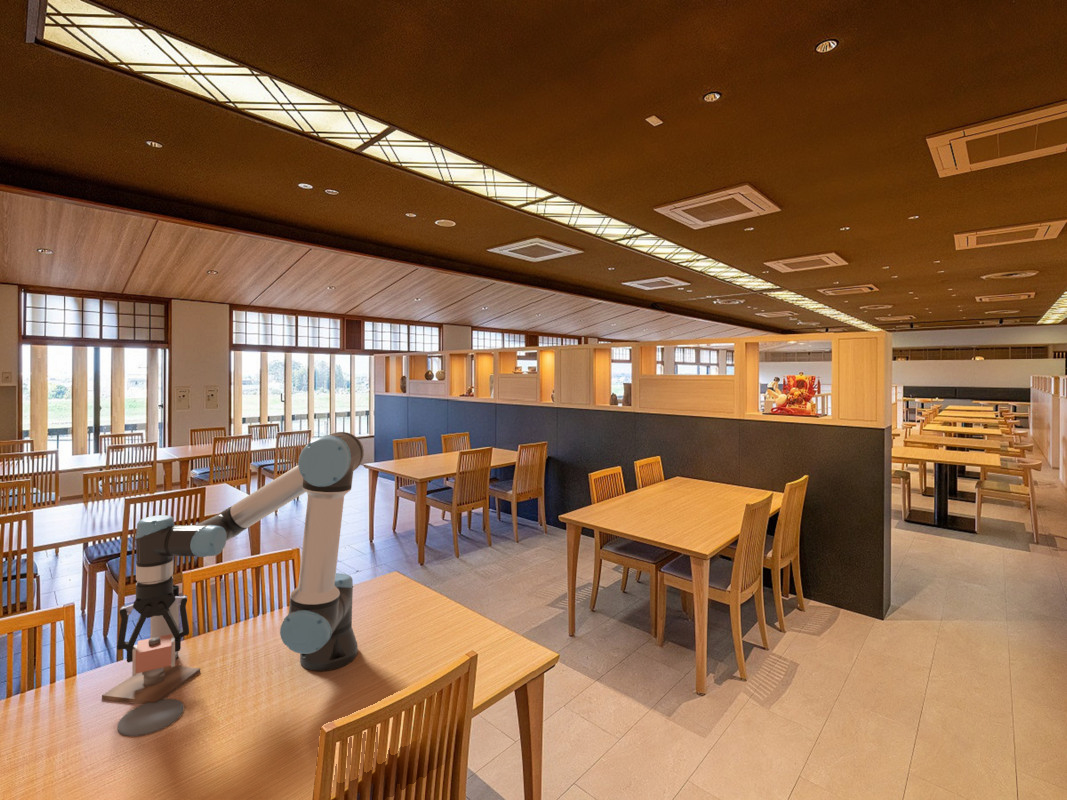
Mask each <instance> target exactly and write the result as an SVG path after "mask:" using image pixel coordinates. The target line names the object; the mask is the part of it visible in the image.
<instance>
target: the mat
mask: <svg viewBox="0 0 1067 800" xmlns="http://www.w3.org/2000/svg"><path fill="white" fill-rule="evenodd" d="M184 706H185V705H184V703H183V702H182V701H181V700H178V699H176V698H175V699H174V698H164V699H162V700H158V701H157V702H156V703H151V702H149V703H146V704H140V705H139V706H137V707H135V708H133V709H131V710H129V712H127V713H126V714H124V715H123V716H122V717H121V718H120V719H119V721H118V723H117V731H118V733H119V734H121V735H123V736H126V737H139V736H145V735H149V734H152V733H156V732H159V731H161V730H163V729H165V728H167V727H168V726H170V725H172V724H173V723H175V722H176V721H177V720H179V719H180V717H181V716H182V715H183V714H184V711H185V709H184Z"/></svg>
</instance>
